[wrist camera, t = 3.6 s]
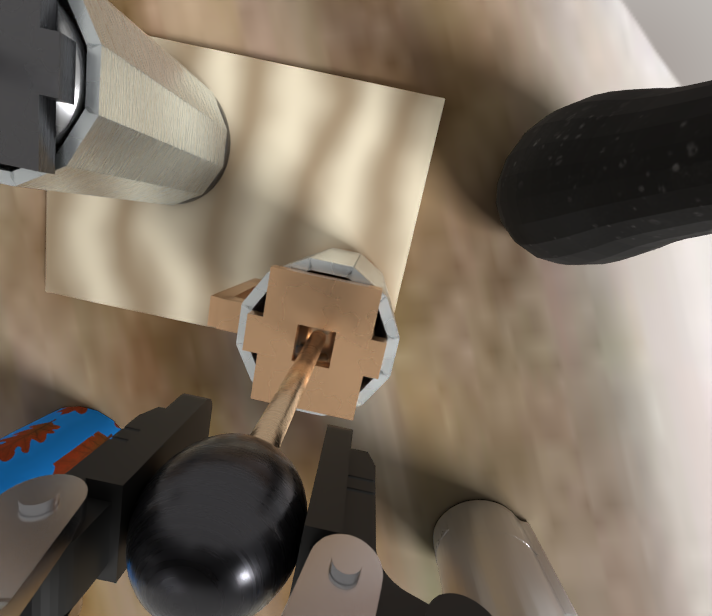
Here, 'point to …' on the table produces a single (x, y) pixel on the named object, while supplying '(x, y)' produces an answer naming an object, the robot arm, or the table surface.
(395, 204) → the board
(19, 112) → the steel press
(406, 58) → the table surface
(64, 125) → the steel plunger
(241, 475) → the copper plunger
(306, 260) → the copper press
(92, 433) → the thermos
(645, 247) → the bottle
